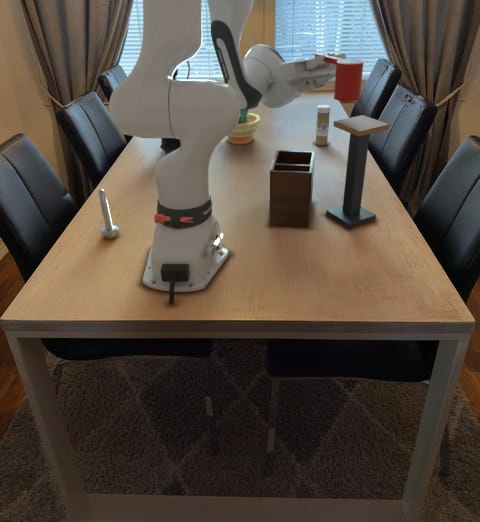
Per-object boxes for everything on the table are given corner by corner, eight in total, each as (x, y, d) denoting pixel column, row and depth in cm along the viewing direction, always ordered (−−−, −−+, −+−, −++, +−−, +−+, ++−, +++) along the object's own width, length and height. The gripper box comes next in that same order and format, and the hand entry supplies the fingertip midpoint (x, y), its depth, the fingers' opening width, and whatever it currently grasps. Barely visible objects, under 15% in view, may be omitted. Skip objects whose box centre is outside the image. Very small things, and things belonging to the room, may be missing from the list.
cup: (364, 100, 111) (369, 61, 106) (345, 104, 108) (348, 65, 104) (324, 87, 122) (327, 51, 117) (306, 91, 119) (307, 54, 115)
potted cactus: (267, 143, 172) (268, 71, 159) (228, 149, 168) (225, 76, 154) (251, 131, 185) (250, 63, 171) (214, 136, 180) (209, 67, 166)
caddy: (308, 228, 119) (312, 173, 111) (269, 225, 121) (269, 171, 113) (311, 203, 131) (314, 151, 123) (275, 201, 133) (276, 150, 124)
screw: (97, 237, 119) (112, 229, 122) (109, 243, 116) (124, 235, 119) (86, 189, 112) (103, 183, 115) (98, 195, 109) (115, 187, 112)
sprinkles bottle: (318, 146, 168) (320, 108, 161) (312, 142, 172) (315, 104, 164) (329, 144, 169) (332, 106, 162) (324, 140, 173) (327, 103, 165)
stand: (375, 219, 122) (389, 124, 108) (348, 229, 118) (359, 131, 105) (352, 206, 129) (362, 114, 115) (325, 215, 125) (333, 121, 111)
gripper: (261, 71, 121) (289, 48, 108) (325, 61, 129) (357, 39, 117) (268, 95, 122) (296, 76, 109) (330, 84, 130) (363, 64, 117)
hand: (328, 56), depth 113 cm, fingers closed on cup
